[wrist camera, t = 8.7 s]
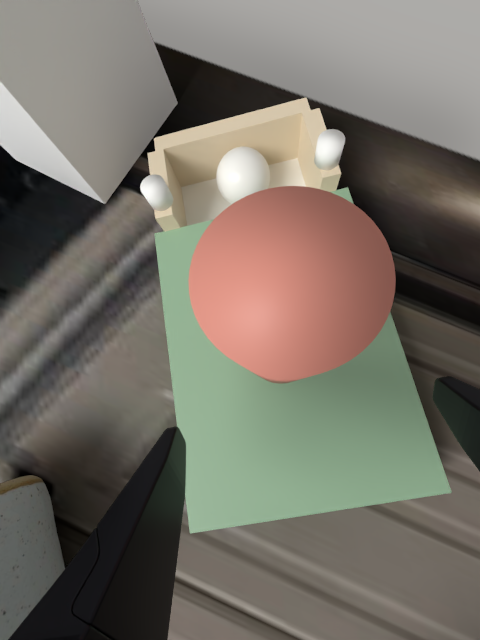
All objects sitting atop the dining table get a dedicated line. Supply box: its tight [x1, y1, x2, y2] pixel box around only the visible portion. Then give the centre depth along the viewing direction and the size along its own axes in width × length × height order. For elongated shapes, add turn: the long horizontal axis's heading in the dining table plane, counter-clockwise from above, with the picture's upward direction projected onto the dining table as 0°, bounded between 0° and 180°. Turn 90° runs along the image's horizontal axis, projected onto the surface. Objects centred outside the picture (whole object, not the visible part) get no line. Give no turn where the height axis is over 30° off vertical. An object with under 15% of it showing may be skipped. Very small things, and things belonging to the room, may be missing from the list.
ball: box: [216, 146, 270, 204], centre depth 21 cm, size 4×4×4 cm
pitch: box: [155, 187, 452, 533], centre depth 18 cm, size 19×14×2 cm
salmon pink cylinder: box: [188, 186, 396, 384], centre depth 11 cm, size 4×4×12 cm
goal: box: [140, 98, 345, 232], centre depth 20 cm, size 7×13×6 cm, turn 100°
